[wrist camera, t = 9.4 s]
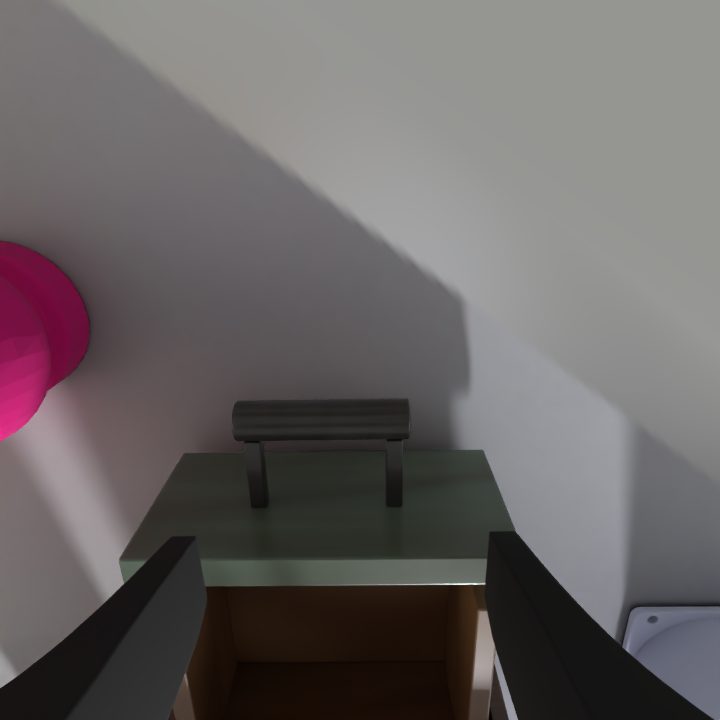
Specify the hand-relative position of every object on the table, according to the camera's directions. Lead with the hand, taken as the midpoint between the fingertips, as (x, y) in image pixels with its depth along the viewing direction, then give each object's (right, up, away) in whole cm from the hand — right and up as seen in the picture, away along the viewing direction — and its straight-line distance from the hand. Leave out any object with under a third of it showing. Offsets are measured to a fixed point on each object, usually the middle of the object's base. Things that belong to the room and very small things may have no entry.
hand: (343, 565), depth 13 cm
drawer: (-1, -3, +11) cm, 12 cm away
